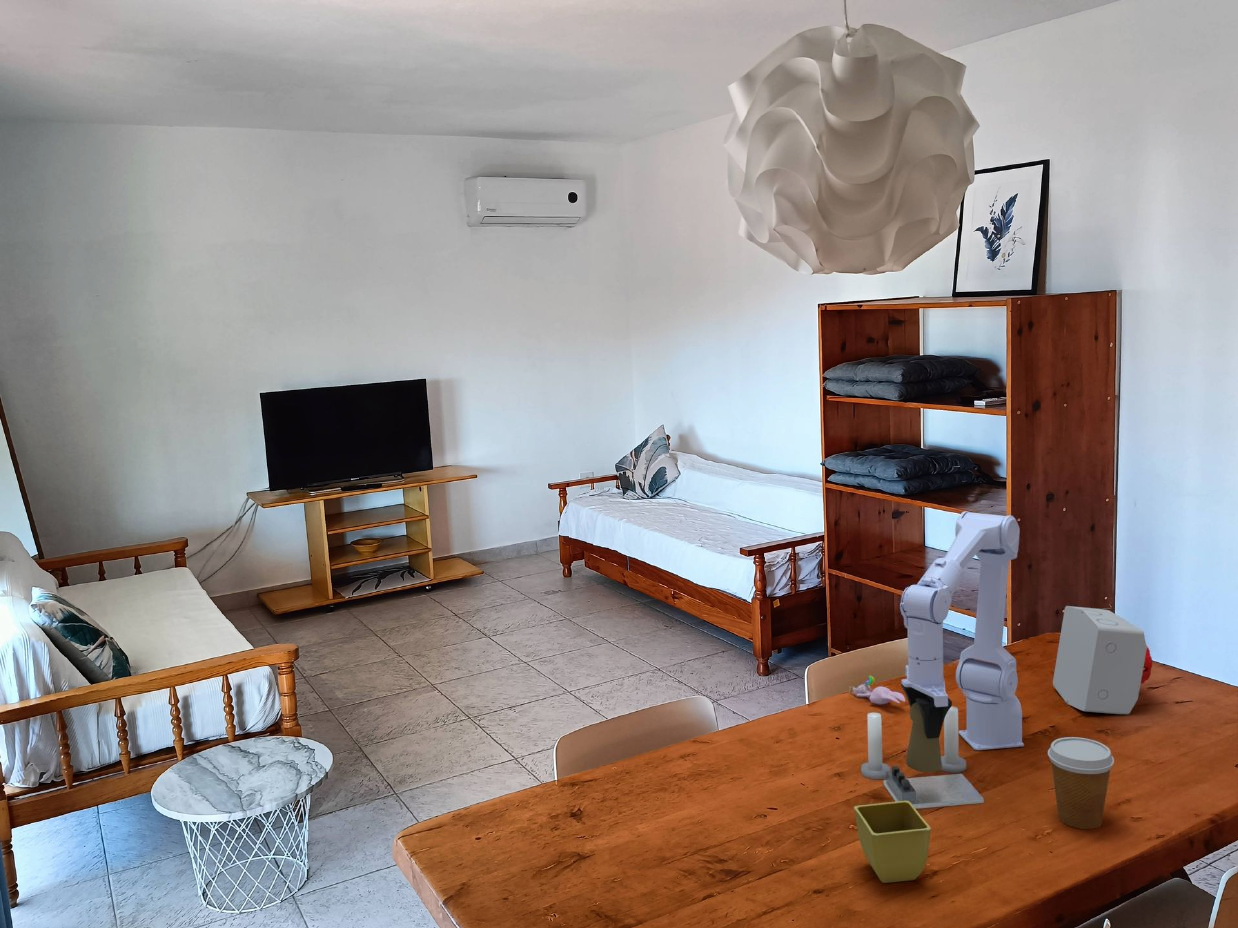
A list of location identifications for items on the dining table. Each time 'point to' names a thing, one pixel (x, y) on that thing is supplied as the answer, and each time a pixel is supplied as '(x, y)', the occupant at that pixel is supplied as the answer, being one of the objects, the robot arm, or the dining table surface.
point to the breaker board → (931, 790)
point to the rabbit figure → (876, 693)
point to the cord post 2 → (952, 744)
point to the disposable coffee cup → (1080, 780)
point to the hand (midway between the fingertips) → (926, 730)
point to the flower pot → (893, 839)
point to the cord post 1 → (874, 750)
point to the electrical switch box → (1100, 661)
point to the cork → (922, 746)
